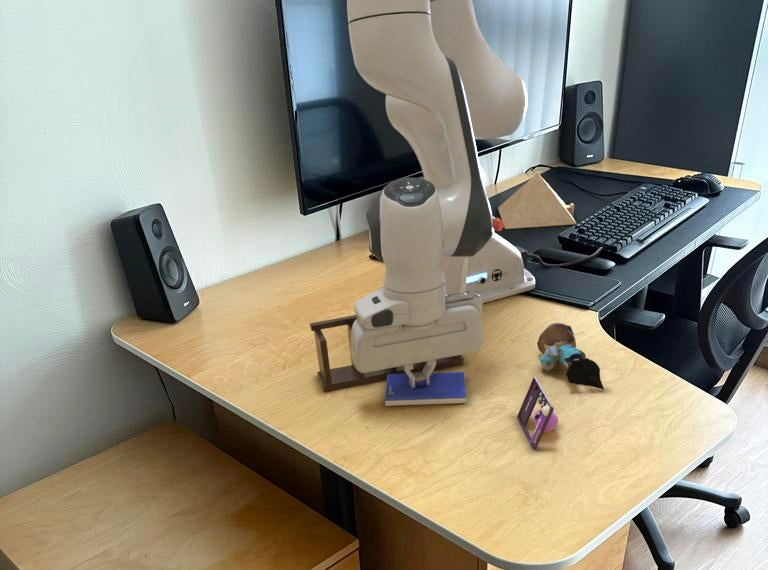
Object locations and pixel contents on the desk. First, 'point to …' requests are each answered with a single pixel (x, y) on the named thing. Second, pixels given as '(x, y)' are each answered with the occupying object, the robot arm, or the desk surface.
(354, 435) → the desk surface
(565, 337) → the figurine
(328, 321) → the letter rack
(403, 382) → the hard drive
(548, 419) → the purple toy package
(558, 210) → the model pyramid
